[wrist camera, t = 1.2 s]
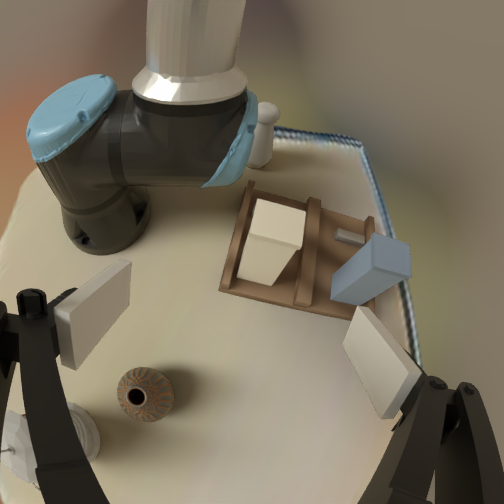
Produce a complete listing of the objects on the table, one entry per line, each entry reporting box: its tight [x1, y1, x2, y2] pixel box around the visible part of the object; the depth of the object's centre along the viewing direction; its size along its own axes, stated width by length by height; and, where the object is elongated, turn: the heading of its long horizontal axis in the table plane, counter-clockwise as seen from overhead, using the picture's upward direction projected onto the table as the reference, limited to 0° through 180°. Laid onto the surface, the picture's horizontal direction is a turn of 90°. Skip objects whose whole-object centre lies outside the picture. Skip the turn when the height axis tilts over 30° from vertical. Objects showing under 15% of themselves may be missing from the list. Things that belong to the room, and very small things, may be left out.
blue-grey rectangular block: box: [330, 233, 412, 306], centre depth 36 cm, size 4×5×13 cm
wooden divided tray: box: [218, 180, 375, 321], centre depth 43 cm, size 18×23×4 cm
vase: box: [117, 367, 174, 422], centre depth 28 cm, size 7×7×9 cm
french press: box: [0, 402, 101, 491], centre depth 15 cm, size 10×12×25 cm
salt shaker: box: [247, 102, 280, 169], centre depth 46 cm, size 6×6×13 cm
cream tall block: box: [237, 199, 306, 286], centre depth 35 cm, size 4×5×13 cm
